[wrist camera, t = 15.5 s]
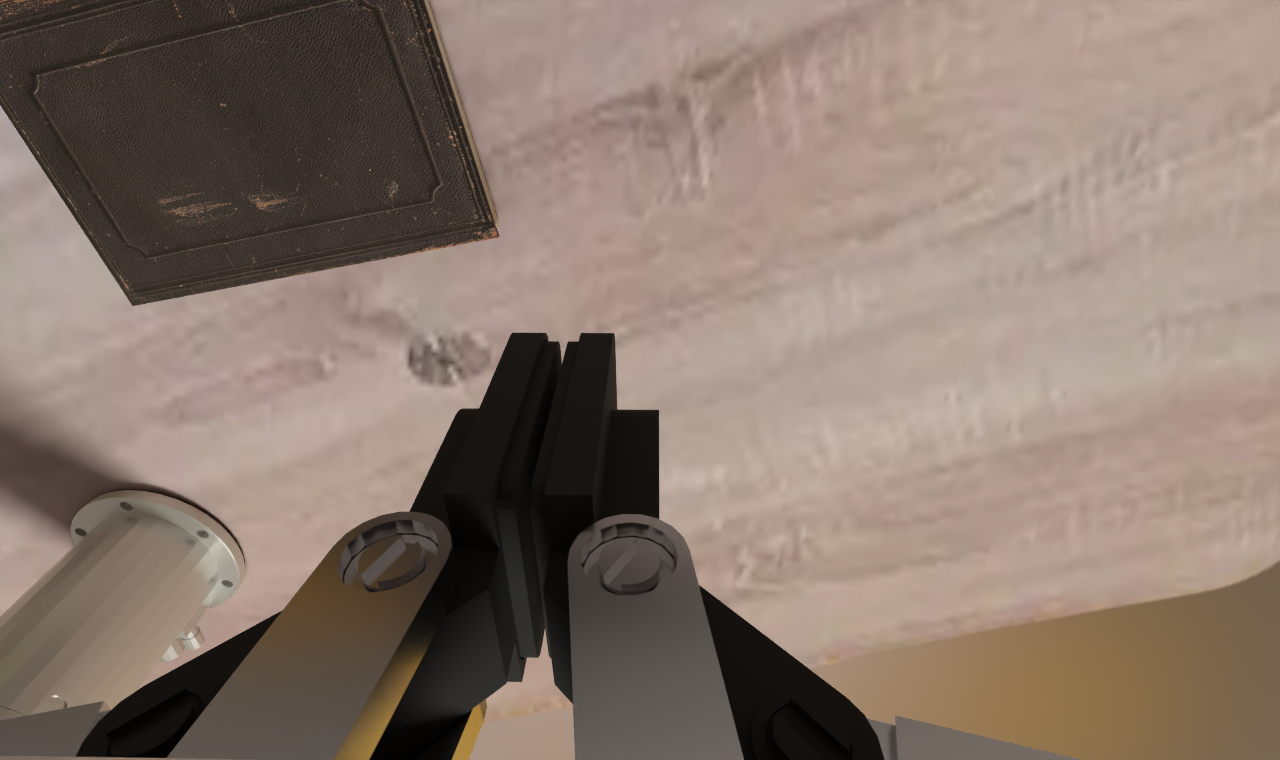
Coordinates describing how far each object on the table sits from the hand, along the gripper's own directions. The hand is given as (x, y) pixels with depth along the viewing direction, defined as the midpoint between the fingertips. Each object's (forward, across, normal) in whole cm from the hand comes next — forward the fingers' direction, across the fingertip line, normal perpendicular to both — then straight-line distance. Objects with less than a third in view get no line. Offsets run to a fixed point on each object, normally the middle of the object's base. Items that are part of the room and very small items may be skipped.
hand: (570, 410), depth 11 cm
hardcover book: (+28, +20, 0) cm, 34 cm away
